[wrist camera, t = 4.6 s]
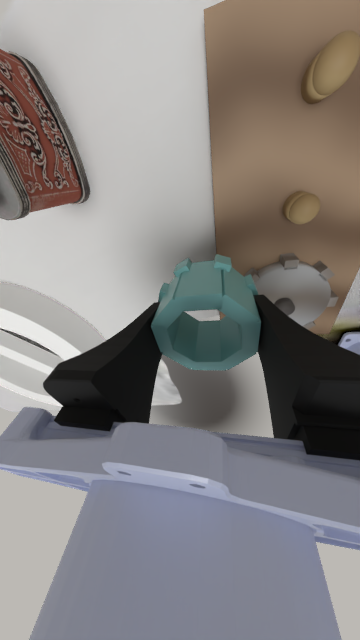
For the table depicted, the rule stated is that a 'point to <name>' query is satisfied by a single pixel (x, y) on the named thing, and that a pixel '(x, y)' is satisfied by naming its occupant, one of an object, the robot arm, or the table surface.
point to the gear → (208, 336)
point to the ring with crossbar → (38, 339)
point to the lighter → (34, 145)
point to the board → (287, 149)
